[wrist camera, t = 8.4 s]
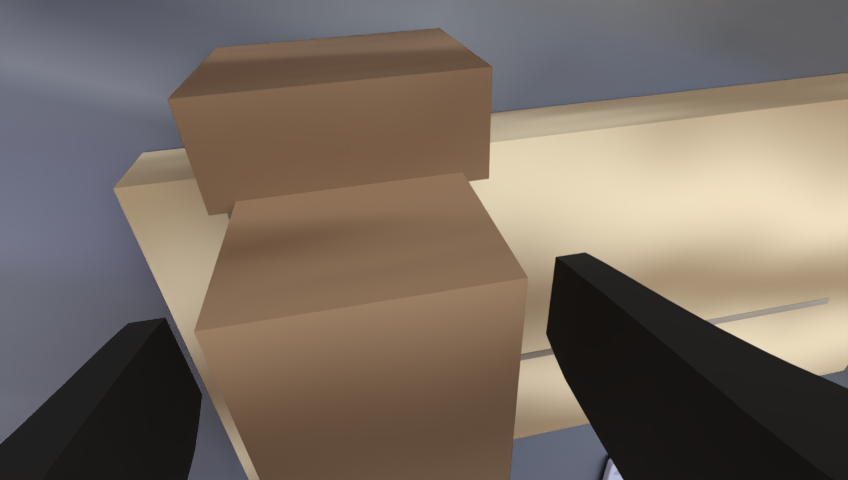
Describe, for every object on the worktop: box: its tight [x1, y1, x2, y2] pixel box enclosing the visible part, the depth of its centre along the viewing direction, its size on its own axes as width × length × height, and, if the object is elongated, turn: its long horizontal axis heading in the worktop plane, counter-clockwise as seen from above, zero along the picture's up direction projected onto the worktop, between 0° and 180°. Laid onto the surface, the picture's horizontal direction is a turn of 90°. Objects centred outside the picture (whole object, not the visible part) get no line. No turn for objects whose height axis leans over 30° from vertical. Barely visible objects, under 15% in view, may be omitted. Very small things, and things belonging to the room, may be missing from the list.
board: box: [113, 73, 848, 480], centre depth 15 cm, size 12×24×2 cm, turn 92°
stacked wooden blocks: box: [168, 28, 528, 480], centre depth 10 cm, size 10×5×7 cm, turn 2°
